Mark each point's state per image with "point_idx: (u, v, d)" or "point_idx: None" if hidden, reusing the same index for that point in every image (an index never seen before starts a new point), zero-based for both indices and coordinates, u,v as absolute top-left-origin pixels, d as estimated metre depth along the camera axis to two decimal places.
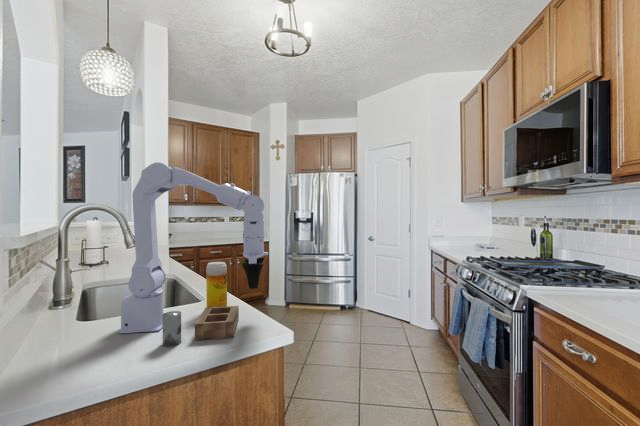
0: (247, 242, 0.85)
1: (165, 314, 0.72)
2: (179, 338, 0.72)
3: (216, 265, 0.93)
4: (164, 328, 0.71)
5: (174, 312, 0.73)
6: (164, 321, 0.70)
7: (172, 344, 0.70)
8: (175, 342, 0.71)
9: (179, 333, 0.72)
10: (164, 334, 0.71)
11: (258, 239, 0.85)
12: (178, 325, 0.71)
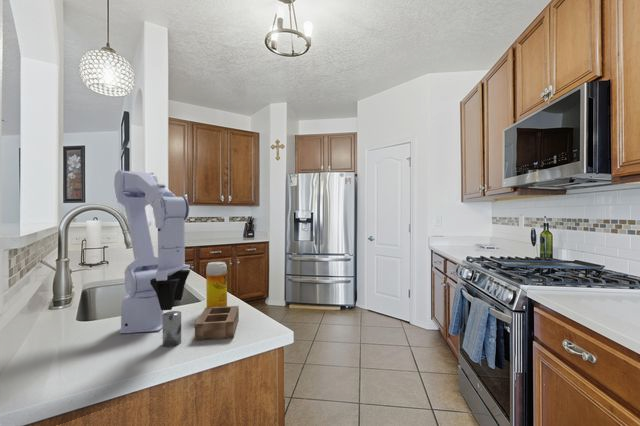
0: (160, 253, 0.70)
1: (165, 314, 0.72)
2: (179, 338, 0.72)
3: (216, 265, 0.93)
4: (164, 328, 0.71)
5: (174, 312, 0.73)
6: (164, 321, 0.70)
7: (172, 344, 0.70)
8: (175, 342, 0.71)
9: (179, 333, 0.72)
10: (164, 334, 0.71)
11: (174, 250, 0.70)
12: (178, 325, 0.71)
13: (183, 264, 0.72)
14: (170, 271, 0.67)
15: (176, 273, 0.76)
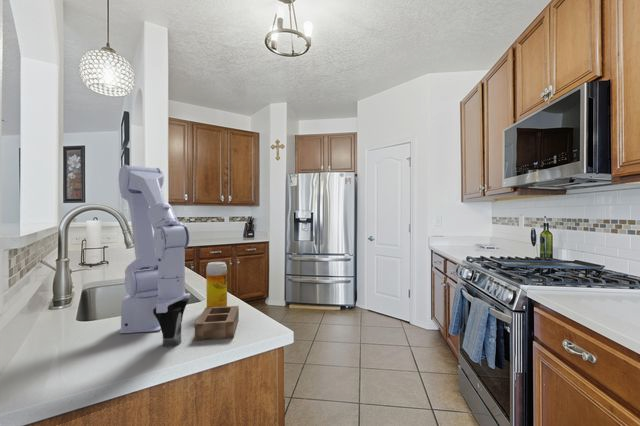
0: (161, 283, 0.70)
1: None
2: (179, 338, 0.72)
3: (216, 265, 0.93)
4: None
5: None
6: None
7: (172, 344, 0.70)
8: (175, 342, 0.71)
9: (179, 333, 0.72)
10: None
11: (174, 280, 0.70)
12: (178, 325, 0.71)
13: (183, 293, 0.72)
14: (170, 302, 0.67)
15: (174, 303, 0.74)
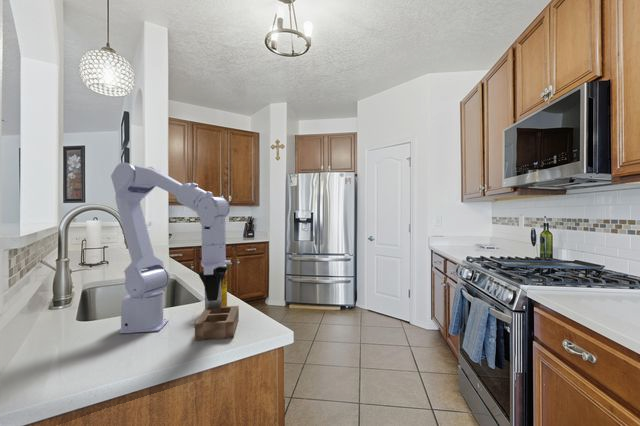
0: (205, 250, 0.75)
1: None
2: (220, 302, 0.77)
3: None
4: None
5: None
6: None
7: (215, 307, 0.76)
8: (217, 306, 0.76)
9: (220, 297, 0.77)
10: None
11: (217, 246, 0.75)
12: (219, 290, 0.77)
13: (225, 260, 0.77)
14: (215, 266, 0.72)
15: (215, 269, 0.80)
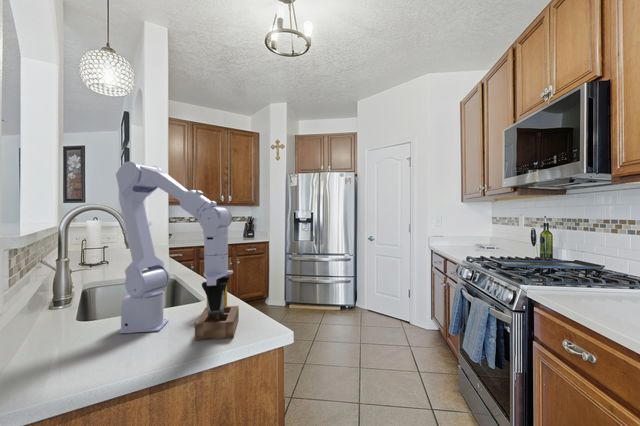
0: (207, 260, 0.75)
1: None
2: (223, 312, 0.77)
3: None
4: None
5: None
6: None
7: (218, 317, 0.76)
8: (220, 315, 0.76)
9: (223, 307, 0.78)
10: None
11: (220, 256, 0.76)
12: (222, 300, 0.77)
13: (227, 270, 0.78)
14: (218, 277, 0.73)
15: (218, 279, 0.80)
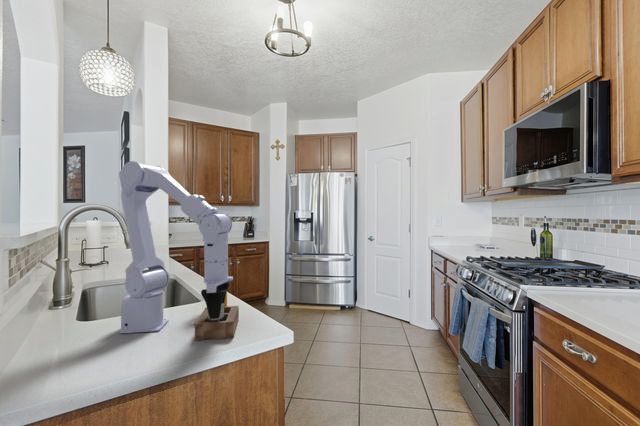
0: (207, 267, 0.75)
1: None
2: None
3: None
4: None
5: None
6: None
7: None
8: None
9: None
10: None
11: (220, 263, 0.76)
12: (222, 314, 0.77)
13: (227, 276, 0.78)
14: (218, 284, 0.73)
15: (218, 285, 0.81)
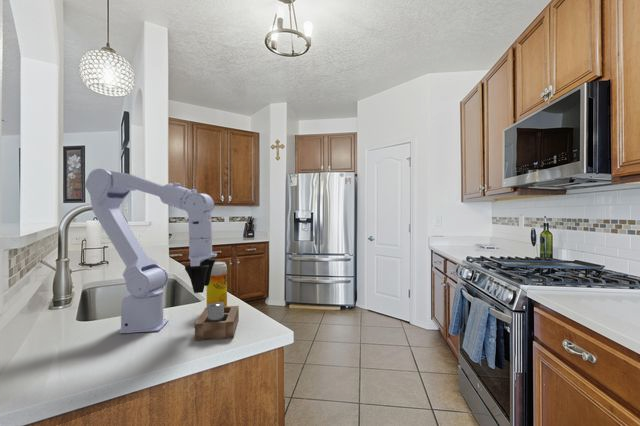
0: (192, 243, 0.79)
1: (210, 305, 0.77)
2: None
3: (216, 265, 0.93)
4: (210, 318, 0.76)
5: (217, 303, 0.78)
6: (210, 311, 0.76)
7: None
8: None
9: None
10: None
11: (204, 240, 0.80)
12: (222, 315, 0.77)
13: (211, 253, 0.82)
14: (201, 258, 0.77)
15: (204, 261, 0.85)
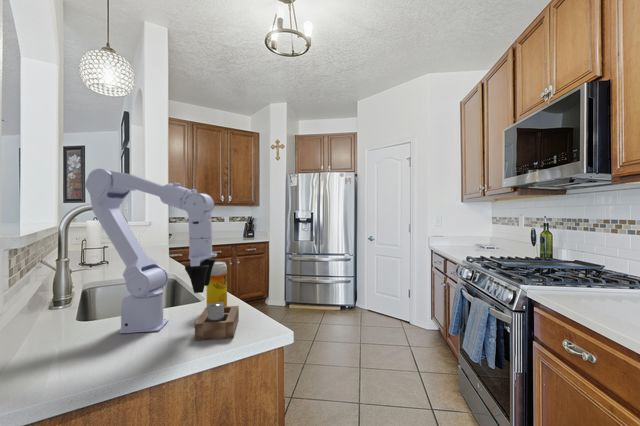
0: (192, 243, 0.79)
1: (210, 305, 0.77)
2: None
3: (216, 265, 0.93)
4: (210, 318, 0.76)
5: (217, 303, 0.78)
6: (210, 311, 0.76)
7: None
8: None
9: None
10: None
11: (204, 240, 0.80)
12: (222, 315, 0.77)
13: (211, 253, 0.82)
14: (201, 258, 0.77)
15: (204, 261, 0.85)
